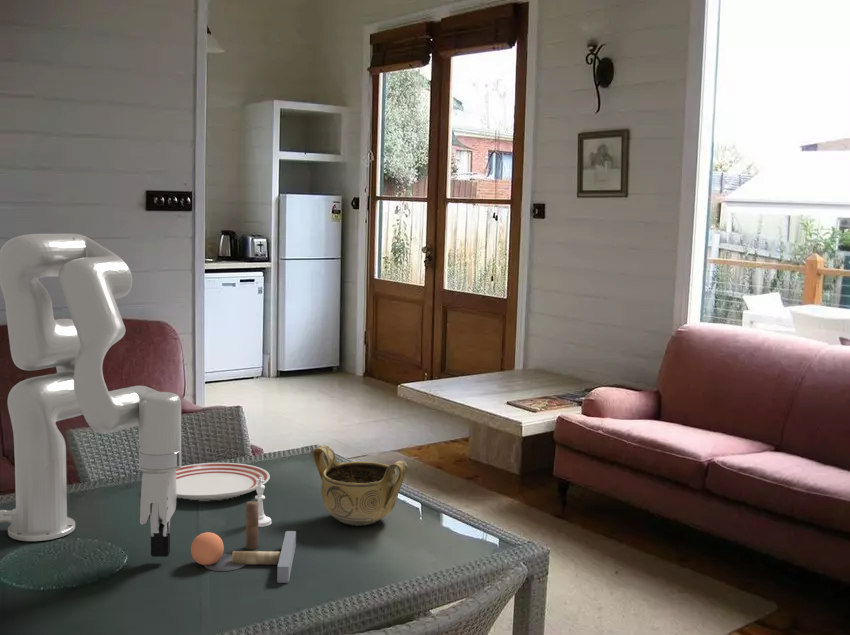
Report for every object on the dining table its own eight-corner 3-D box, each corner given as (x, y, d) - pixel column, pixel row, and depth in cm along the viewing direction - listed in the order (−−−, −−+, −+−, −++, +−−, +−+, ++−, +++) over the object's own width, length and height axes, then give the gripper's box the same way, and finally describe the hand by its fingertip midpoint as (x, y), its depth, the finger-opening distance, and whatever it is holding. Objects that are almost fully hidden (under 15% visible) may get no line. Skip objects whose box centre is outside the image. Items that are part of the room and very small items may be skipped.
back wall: (277, 582, 166) (277, 566, 166) (285, 545, 184) (285, 531, 184) (288, 582, 166) (288, 566, 166) (295, 545, 184) (295, 531, 184)
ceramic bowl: (293, 522, 198) (294, 453, 196) (337, 500, 213) (339, 437, 211) (383, 543, 187) (385, 470, 185) (423, 519, 202) (425, 452, 200)
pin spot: (200, 571, 170) (200, 570, 170) (207, 554, 178) (207, 553, 178) (244, 571, 171) (244, 570, 171) (249, 554, 179) (249, 553, 179)
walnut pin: (245, 549, 181) (245, 505, 180) (246, 545, 184) (246, 501, 183) (257, 549, 182) (257, 505, 180) (258, 545, 184) (259, 501, 183)
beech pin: (231, 554, 173) (280, 555, 173) (233, 548, 175) (281, 549, 176) (231, 566, 173) (280, 566, 174) (233, 560, 176) (281, 560, 176)
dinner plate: (124, 492, 215) (124, 478, 214) (214, 466, 237) (214, 454, 237) (206, 517, 199) (206, 502, 199) (293, 488, 222) (293, 474, 221)
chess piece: (266, 528, 194) (267, 481, 192) (244, 525, 195) (244, 479, 193) (275, 520, 198) (275, 475, 197) (253, 518, 199) (253, 472, 198)
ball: (225, 550, 170) (211, 576, 171) (231, 535, 176) (218, 560, 177) (195, 536, 169) (182, 562, 171) (202, 521, 175) (189, 547, 176)
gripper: (148, 448, 178) (149, 540, 181) (129, 471, 164) (130, 570, 166) (188, 449, 179) (188, 540, 181) (172, 471, 164) (172, 571, 166)
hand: (160, 554), depth 173 cm, fingers closed
